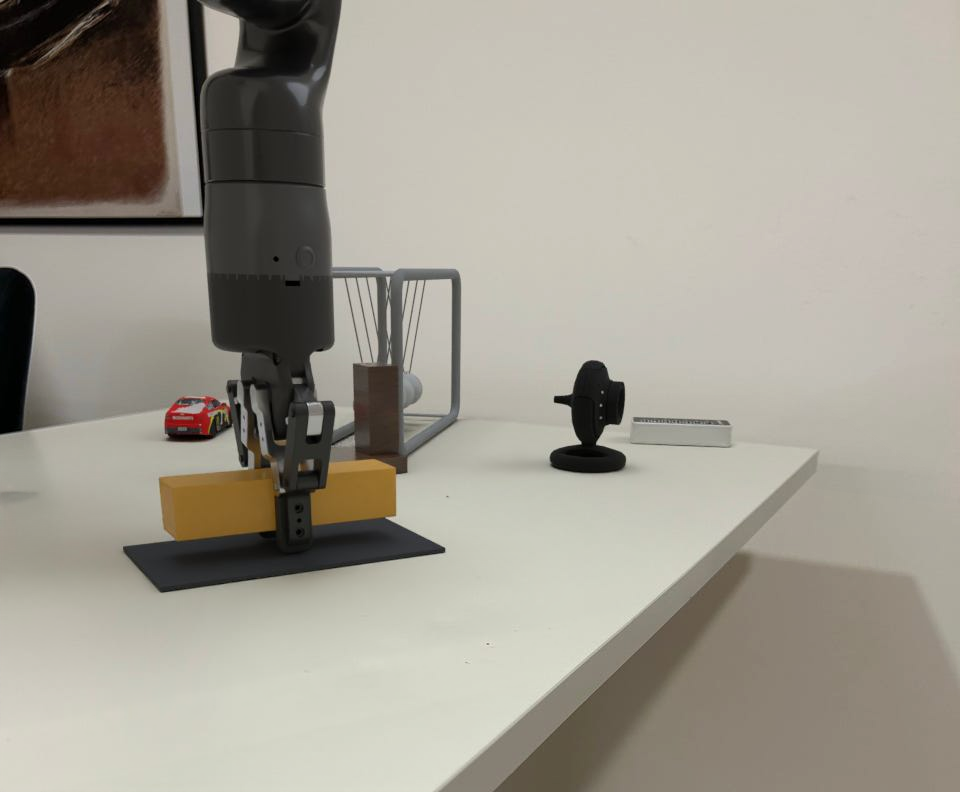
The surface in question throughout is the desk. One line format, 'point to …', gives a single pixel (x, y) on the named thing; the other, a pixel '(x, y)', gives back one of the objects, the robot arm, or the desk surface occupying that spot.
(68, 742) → the desk surface
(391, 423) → the wooden u-shaped stand
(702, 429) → the multiport hub
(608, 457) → the webcam
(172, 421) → the race car
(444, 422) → the newton's cradle
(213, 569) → the mat
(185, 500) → the bar
